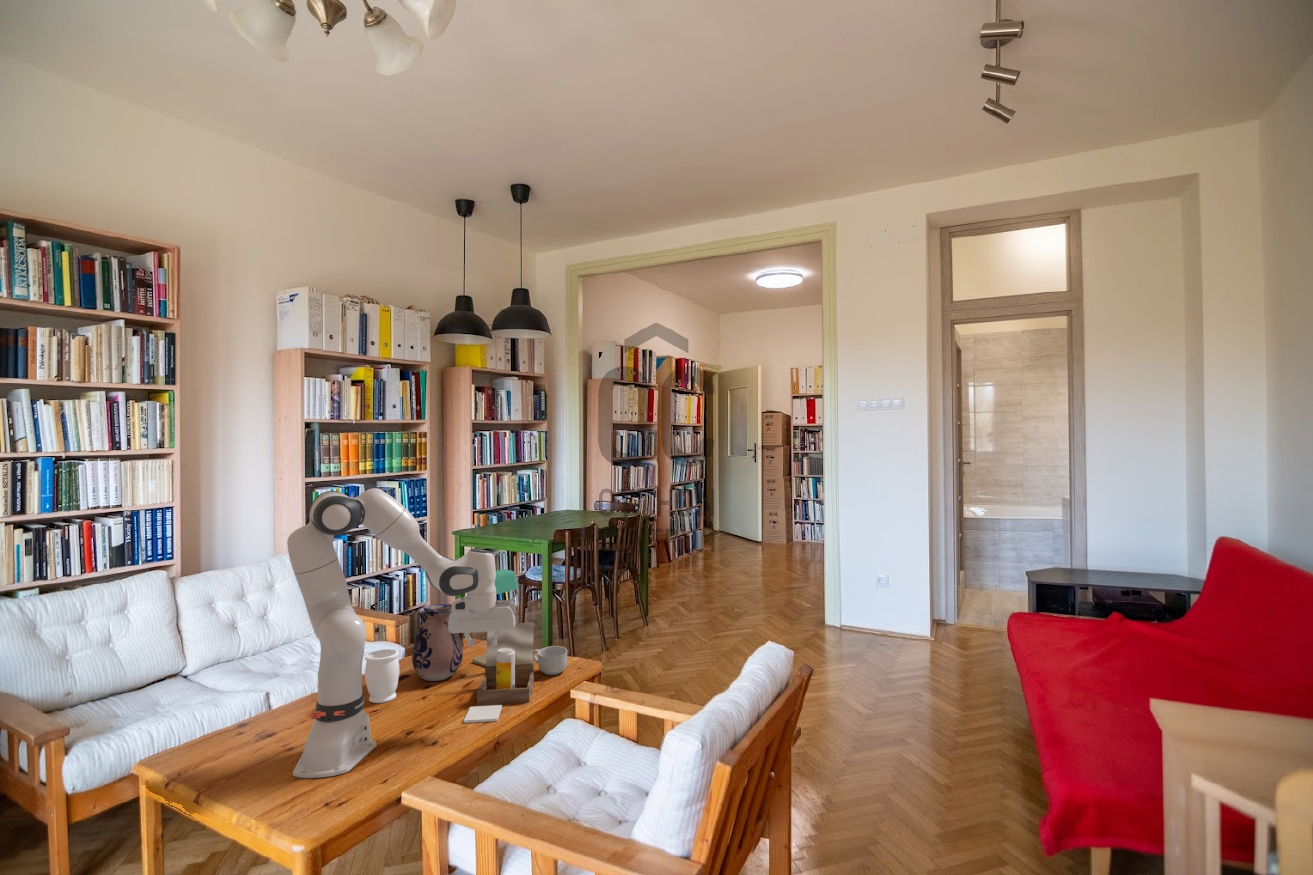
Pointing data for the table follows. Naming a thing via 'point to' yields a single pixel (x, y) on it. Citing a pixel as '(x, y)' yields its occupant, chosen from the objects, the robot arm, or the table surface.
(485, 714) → the stone tile
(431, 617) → the ceramic pitcher
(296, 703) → the table surface
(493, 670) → the box
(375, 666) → the jar
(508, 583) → the banker's lamp
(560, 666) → the teacup
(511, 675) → the beer can
